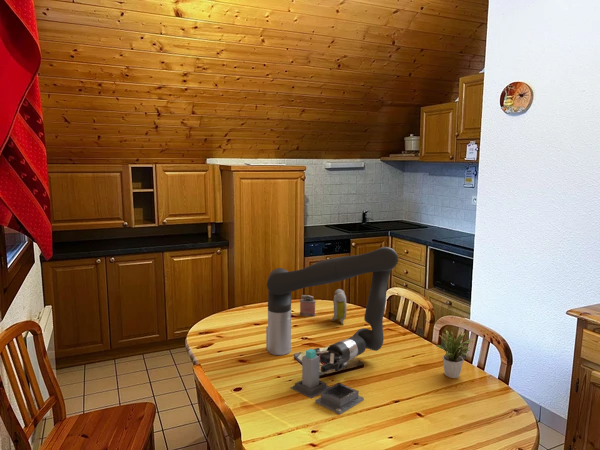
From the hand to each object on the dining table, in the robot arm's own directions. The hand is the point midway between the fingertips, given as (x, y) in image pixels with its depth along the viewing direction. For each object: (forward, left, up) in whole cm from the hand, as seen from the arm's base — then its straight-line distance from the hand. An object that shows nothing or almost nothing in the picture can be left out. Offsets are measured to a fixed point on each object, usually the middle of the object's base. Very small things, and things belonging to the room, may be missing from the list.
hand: (312, 365), depth 155 cm
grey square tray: (0, -1, -8) cm, 8 cm away
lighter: (-52, +53, -8) cm, 75 cm away
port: (+12, -1, -8) cm, 15 cm away
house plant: (+30, +41, -8) cm, 52 cm away
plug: (0, -1, -8) cm, 8 cm away
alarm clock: (-35, +56, -8) cm, 67 cm away
